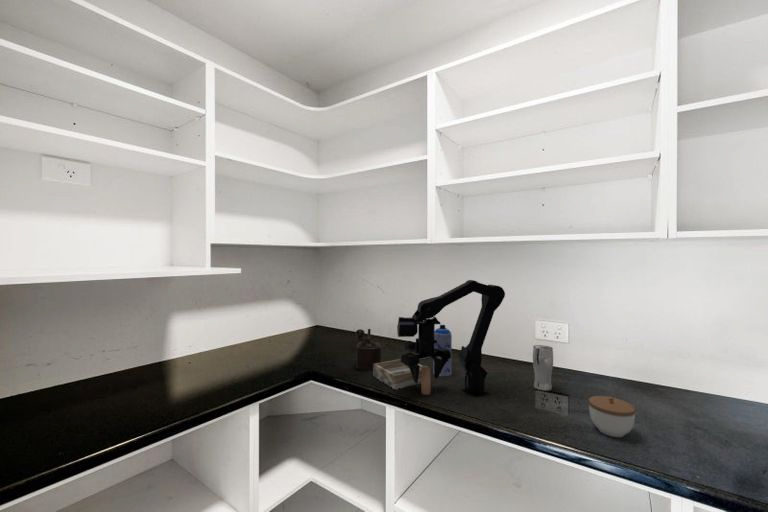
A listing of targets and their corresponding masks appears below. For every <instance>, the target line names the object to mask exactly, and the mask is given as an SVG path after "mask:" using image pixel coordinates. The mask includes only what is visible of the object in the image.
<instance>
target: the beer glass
mask: <svg viewBox="0 0 768 512" xmlns="http://www.w3.org/2000/svg"><path fill="white" fill-rule="evenodd" d="M532 348H533V349H532V367H533V371H534V383H533V387H534V389H537V390H540V391H545V392H546V391H547V392H548V391H551V390H552V389H553V386H552V382H551V381H552V372H553V368H554V350H553V347H551V346H550V345H549V346H548V345H542V344H537V345H536V344H535V345H533V347H532Z"/></svg>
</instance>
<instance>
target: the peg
mask: <svg viewBox="0 0 768 512" xmlns="http://www.w3.org/2000/svg"><path fill="white" fill-rule="evenodd" d="M431 370H432V369H431V366H429V365H422V375H421V389H420V390H421V395H426V396H427V395H431V379H432V377H431V375H432V374H431Z"/></svg>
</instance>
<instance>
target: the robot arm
mask: <svg viewBox="0 0 768 512" xmlns="http://www.w3.org/2000/svg"><path fill="white" fill-rule="evenodd" d="M472 293H477V294H479V295H481V297H480V298H481V307H480V311H479V313H478V317H477V318H476V323H475V325H474V327H473V328H474V329H473V331H472V334H471V337H470V340H469V342H468V344H467V345H466V346H464V345H462V346H461V347H460V348H461V349H460V352H459V354H458V357H459V361H458V362H459V365H461V366H462V367H463V369H464V371H465V376H464V388H461V389H462V391H463V392H466V393H468V394H470V395H472V396H474V397H477V396H481V395H485V394H487V393H488V390H486V388H485V387H486V385H485V383H486V382H485V381H486V378H487V375H488V371H487V370H485V369H484V368H483V366H482V360H483V356H482V355H483V353H482V351H483V349H482V348H483V346H484V343H485V340H486V337H487V334H488V331H489V328H490V325H491V322H492V319H493V317H494V314H495V311H496V310H498V308H499V307H500V306H501V305H502V302H503V301H504V299H505V297H506V292H505V290H504V288H503V287H502V286H500V285H495V284H485V283H482V282H478V281H476V280H474V279H468V280H466V281H465V282H464V283H462V284H459V285H458V286H456V287H454V288H452V289H450V290H448V291H446V292H444V293H442V294H441V295H438V296H435V297H430V298H426V299H424V300H421V301H420V302H419V303H418V304H417V308H416V310H415V311H414V313H413V314H412V315H411V317H402V316H399V317H398V320H397V324H396V325H397V326H396V327H397V330H396V331H397V333H396V334H397V337H398V338H403V337H404V338H410V337H411V338H414V337H415V336H416V335H418V338H417V337H415V342H412V340H407V341H405V342H404V350H405V351H409V352H407V353H402V354H401V356H400V359H401V362H402V363H404V364H405V365H407V366H408V367H409V369H410V371H411V373H412V376H413V379H414V382H415V383H417V382H418V376H419V369H420V365H421V364H420V361H423V360H428V359H432V361H433V360H434V373H435V374H434V379H438V378H439V377H440V376H439V374H440V372H441V370H442V369H443V367H444V365H445V363H446V362H447V361H448V359H450V358H451V359H452V351H451V352H450V351H449V350H447V349H445V348H442V347H440V348H435V343H437V340H435V330H436V327H435V326H436V325H441V322H440V321H439V320H438V318H437V317H436V315H438V314H440V312H441V311H442V310H443V309H444V308H445V307H446V306H449V305H451V304H453V303H454V302H457V301H458V300H460V299H463V298H464V297H466V296H468V295H469V294H472ZM413 352H414V353H413ZM418 364H420V365H418Z"/></svg>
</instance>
